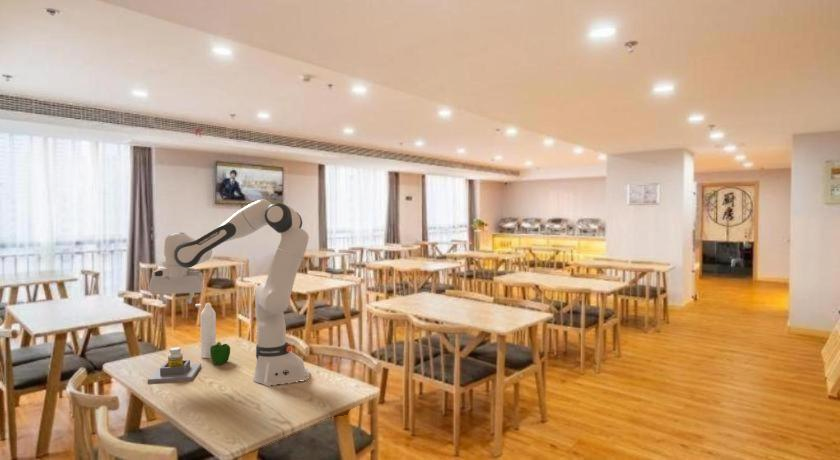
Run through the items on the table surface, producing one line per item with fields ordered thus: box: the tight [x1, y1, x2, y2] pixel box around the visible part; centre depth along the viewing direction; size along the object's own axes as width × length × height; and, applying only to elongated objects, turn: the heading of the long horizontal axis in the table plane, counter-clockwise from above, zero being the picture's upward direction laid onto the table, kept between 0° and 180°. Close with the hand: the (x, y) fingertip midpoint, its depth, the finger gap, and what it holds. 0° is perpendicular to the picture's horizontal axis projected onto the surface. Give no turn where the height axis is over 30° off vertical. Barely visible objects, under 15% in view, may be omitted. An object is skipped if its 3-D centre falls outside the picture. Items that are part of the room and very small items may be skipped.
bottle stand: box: [147, 359, 202, 384], centre depth 194 cm, size 16×16×4 cm
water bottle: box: [195, 302, 217, 359], centre depth 216 cm, size 9×6×25 cm
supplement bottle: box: [167, 346, 184, 367], centre depth 193 cm, size 5×5×10 cm
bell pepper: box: [210, 341, 231, 366], centre depth 208 cm, size 8×8×10 cm
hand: (177, 303), depth 198 cm, fingers open, 8 cm apart
